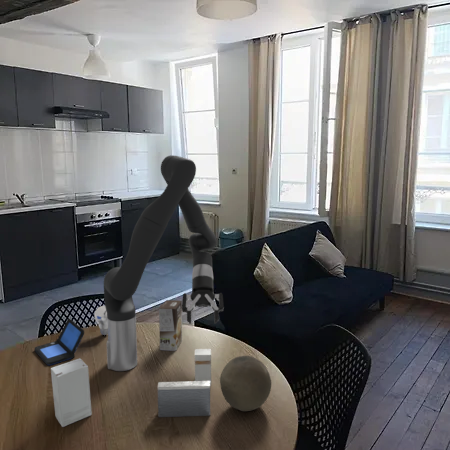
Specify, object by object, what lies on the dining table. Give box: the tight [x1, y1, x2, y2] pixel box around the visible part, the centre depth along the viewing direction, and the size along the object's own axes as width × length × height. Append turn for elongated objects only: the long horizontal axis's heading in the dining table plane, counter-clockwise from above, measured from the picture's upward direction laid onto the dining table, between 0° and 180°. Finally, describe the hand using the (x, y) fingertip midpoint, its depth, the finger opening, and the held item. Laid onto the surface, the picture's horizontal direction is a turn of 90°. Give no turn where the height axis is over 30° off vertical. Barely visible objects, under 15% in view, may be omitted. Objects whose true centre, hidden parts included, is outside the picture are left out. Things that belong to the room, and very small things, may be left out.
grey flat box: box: [157, 380, 211, 418], centre depth 111 cm, size 14×2×9 cm, turn 93°
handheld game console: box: [34, 318, 85, 366], centre depth 146 cm, size 16×13×9 cm
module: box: [194, 348, 212, 386], centre depth 127 cm, size 5×4×10 cm
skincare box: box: [50, 357, 93, 428], centre depth 109 cm, size 8×6×15 cm
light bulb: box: [94, 305, 108, 337], centre depth 160 cm, size 7×7×12 cm
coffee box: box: [158, 299, 183, 352], centre depth 151 cm, size 9×6×16 cm
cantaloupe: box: [219, 355, 272, 412], centre depth 112 cm, size 14×14×15 cm
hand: (202, 322), depth 136 cm, fingers open, 8 cm apart
